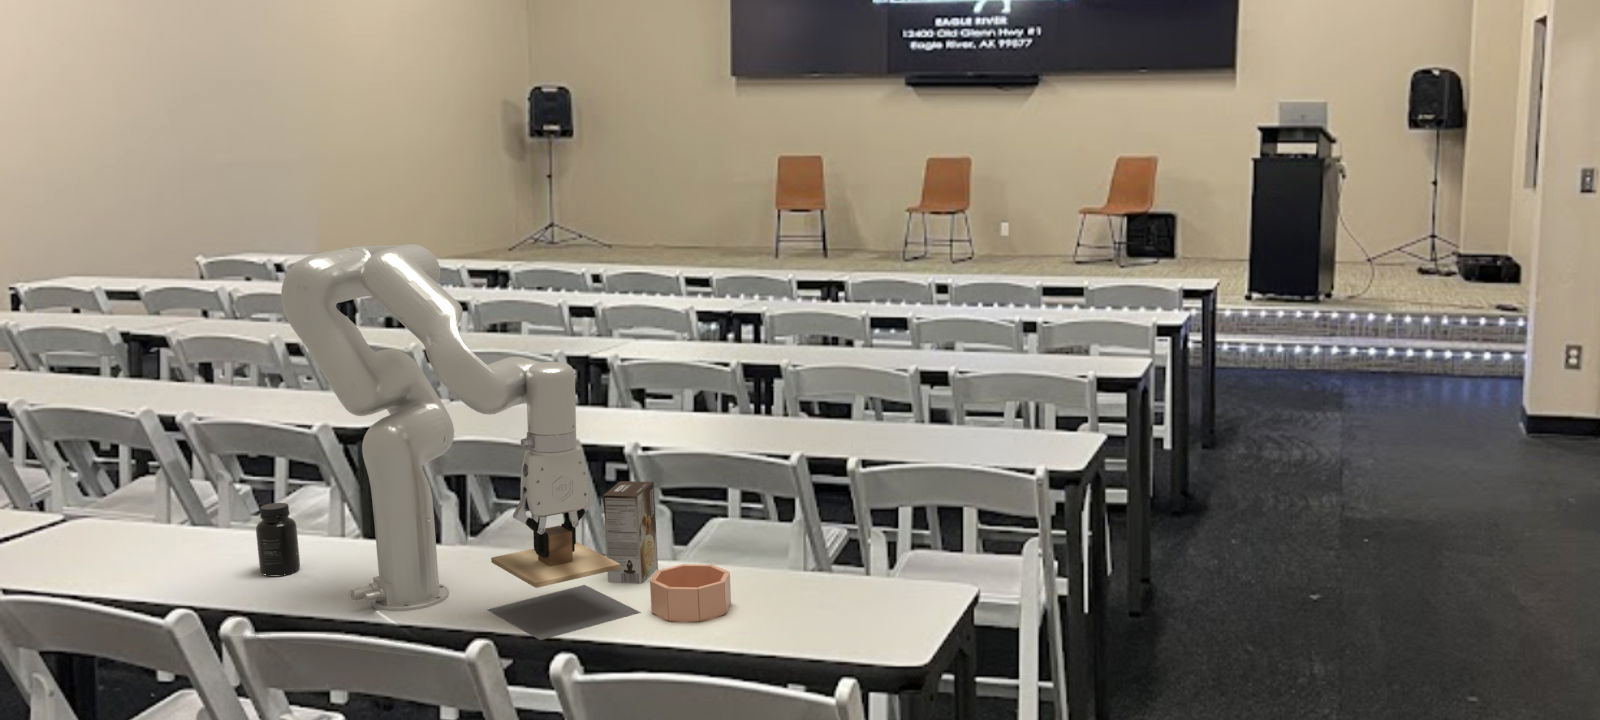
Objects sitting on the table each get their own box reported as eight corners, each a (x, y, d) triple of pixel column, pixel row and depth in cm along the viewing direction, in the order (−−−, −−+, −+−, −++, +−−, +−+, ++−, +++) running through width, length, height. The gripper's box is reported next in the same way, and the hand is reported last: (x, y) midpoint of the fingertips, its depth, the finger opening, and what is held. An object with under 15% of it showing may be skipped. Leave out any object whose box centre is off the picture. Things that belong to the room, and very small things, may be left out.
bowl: (680, 631, 237) (679, 594, 236) (639, 611, 246) (638, 575, 245) (743, 613, 244) (742, 577, 243) (701, 594, 254) (700, 559, 252)
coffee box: (624, 568, 268) (619, 479, 265) (659, 570, 267) (654, 480, 264) (607, 586, 259) (602, 494, 256) (643, 587, 258) (638, 495, 255)
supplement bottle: (308, 568, 273) (302, 503, 271) (277, 579, 267) (271, 513, 265) (283, 562, 277) (277, 498, 274) (251, 573, 271) (245, 508, 269)
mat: (540, 643, 233) (540, 639, 233) (487, 613, 248) (487, 609, 247) (641, 615, 244) (641, 612, 244) (584, 588, 258) (584, 584, 258)
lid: (535, 588, 234) (534, 551, 233) (491, 562, 246) (490, 527, 245) (620, 568, 243) (619, 533, 242) (573, 544, 255) (572, 511, 254)
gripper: (515, 454, 233) (518, 569, 236) (610, 438, 243) (612, 548, 246) (492, 444, 239) (496, 556, 242) (586, 429, 249) (589, 537, 252)
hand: (555, 551), depth 244 cm, fingers closed on lid, 4 cm apart
